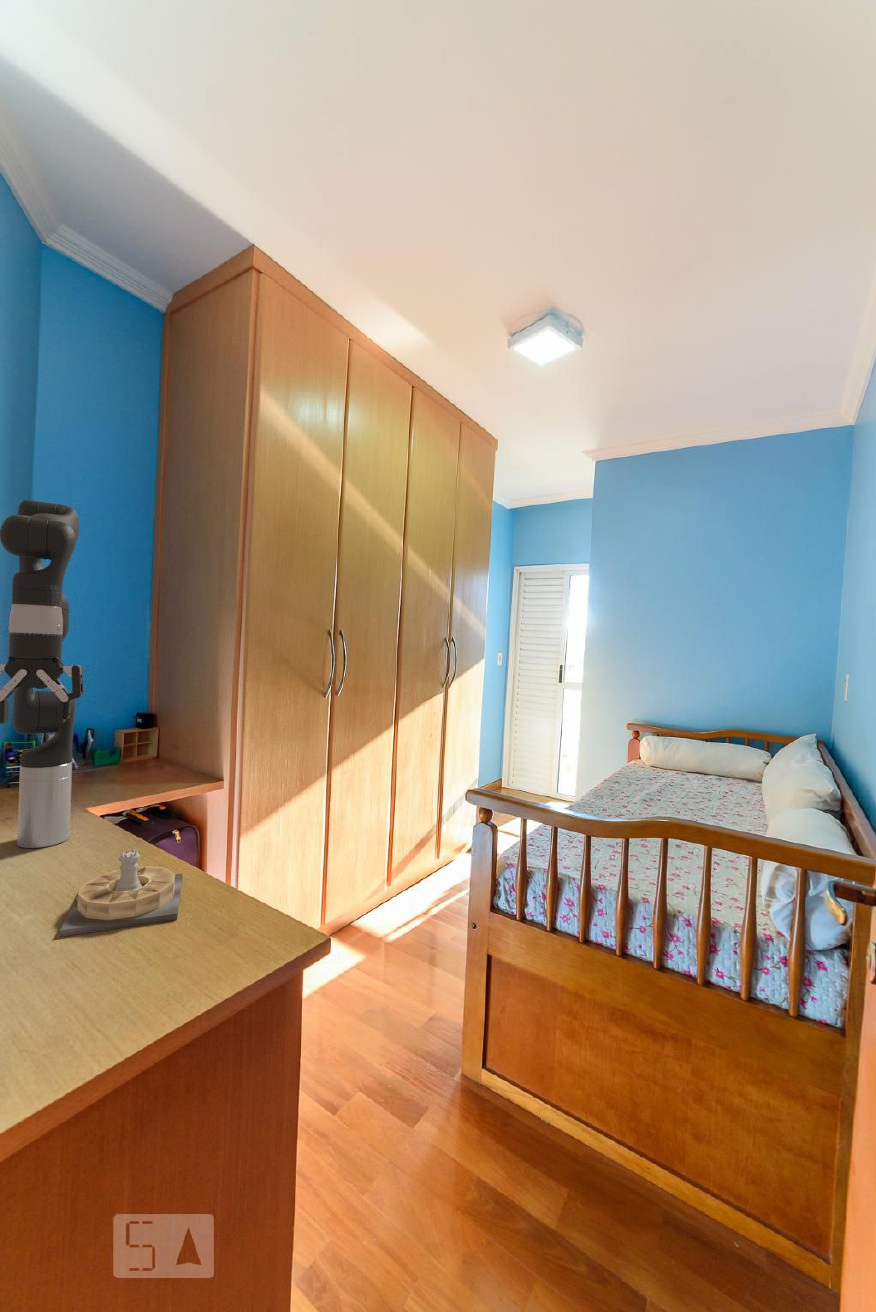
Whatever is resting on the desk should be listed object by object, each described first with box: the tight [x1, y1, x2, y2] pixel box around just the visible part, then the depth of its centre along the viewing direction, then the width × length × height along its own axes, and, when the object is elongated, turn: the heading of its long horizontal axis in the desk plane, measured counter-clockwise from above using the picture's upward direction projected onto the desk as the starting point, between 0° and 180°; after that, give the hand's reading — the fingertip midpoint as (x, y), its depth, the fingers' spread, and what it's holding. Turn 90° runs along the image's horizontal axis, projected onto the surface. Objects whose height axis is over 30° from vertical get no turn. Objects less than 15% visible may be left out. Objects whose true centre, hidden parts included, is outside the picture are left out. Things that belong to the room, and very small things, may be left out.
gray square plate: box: [59, 865, 183, 938], centre depth 90 cm, size 16×16×4 cm
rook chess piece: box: [114, 849, 142, 892], centre depth 90 cm, size 4×4×8 cm
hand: (33, 722), depth 93 cm, fingers open, 8 cm apart
